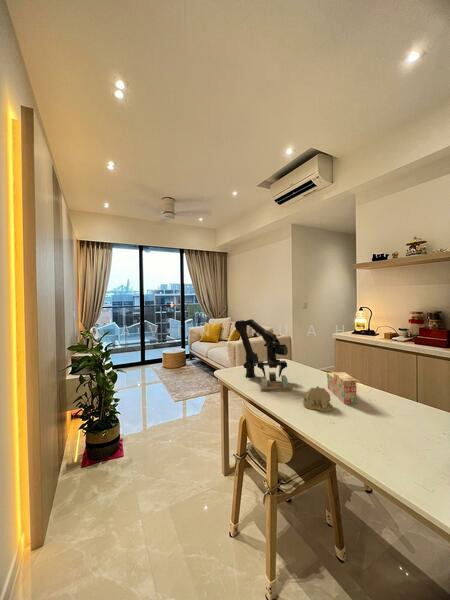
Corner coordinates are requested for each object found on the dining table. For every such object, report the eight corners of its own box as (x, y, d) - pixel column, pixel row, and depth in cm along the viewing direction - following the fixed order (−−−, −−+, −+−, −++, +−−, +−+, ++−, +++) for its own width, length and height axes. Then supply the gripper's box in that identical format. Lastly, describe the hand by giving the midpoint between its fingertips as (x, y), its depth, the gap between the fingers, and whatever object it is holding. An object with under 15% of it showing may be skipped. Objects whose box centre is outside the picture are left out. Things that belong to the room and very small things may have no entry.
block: (269, 379, 163) (268, 372, 163) (275, 379, 163) (275, 372, 163) (269, 381, 159) (269, 374, 159) (276, 381, 159) (275, 374, 159)
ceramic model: (331, 402, 127) (330, 383, 127) (335, 413, 116) (334, 391, 116) (302, 400, 131) (301, 382, 130) (303, 410, 120) (303, 390, 120)
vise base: (259, 383, 157) (259, 375, 157) (287, 383, 156) (286, 374, 156) (261, 391, 145) (260, 381, 145) (290, 390, 144) (290, 381, 144)
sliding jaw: (281, 382, 154) (281, 375, 154) (285, 382, 154) (285, 375, 153) (283, 387, 146) (283, 379, 146) (287, 387, 146) (287, 379, 146)
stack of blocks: (327, 388, 146) (326, 367, 145) (338, 387, 146) (337, 367, 145) (344, 404, 124) (343, 380, 124) (357, 404, 124) (356, 379, 124)
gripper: (257, 356, 154) (258, 381, 154) (288, 356, 152) (289, 381, 153) (256, 352, 165) (257, 375, 165) (285, 351, 163) (286, 375, 164)
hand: (272, 377), depth 161 cm, fingers open, 9 cm apart
